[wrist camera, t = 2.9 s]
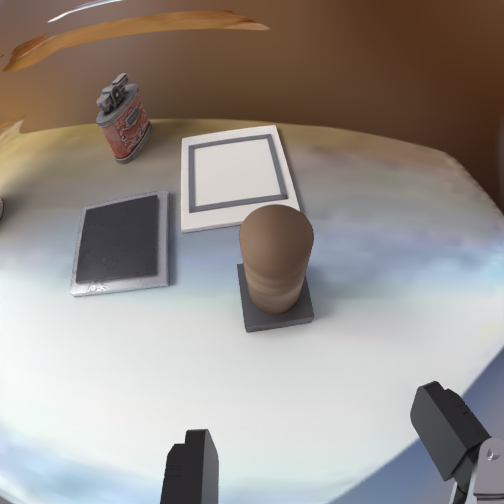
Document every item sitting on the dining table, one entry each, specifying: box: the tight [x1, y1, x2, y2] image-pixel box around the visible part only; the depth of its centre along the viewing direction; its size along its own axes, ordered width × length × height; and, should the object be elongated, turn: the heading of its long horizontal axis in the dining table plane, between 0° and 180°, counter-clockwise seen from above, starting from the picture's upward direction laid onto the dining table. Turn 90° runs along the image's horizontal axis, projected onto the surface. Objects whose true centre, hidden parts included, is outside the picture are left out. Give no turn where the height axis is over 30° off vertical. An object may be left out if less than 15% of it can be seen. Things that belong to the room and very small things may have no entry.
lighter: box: [96, 73, 152, 164], centre depth 33 cm, size 8×3×10 cm, turn 167°
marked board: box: [181, 125, 300, 233], centre depth 33 cm, size 12×14×1 cm
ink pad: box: [70, 189, 169, 297], centre depth 30 cm, size 11×11×1 cm
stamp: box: [237, 204, 314, 332], centre depth 22 cm, size 6×6×11 cm
